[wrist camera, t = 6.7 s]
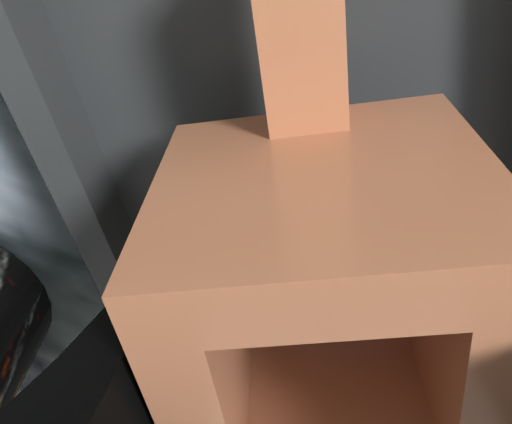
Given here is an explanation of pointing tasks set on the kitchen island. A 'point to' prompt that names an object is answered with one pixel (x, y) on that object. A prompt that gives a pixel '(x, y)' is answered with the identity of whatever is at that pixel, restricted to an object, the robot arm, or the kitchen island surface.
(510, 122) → the tray
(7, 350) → the deodorant
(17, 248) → the kitchen island surface
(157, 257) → the orange hollow square box
